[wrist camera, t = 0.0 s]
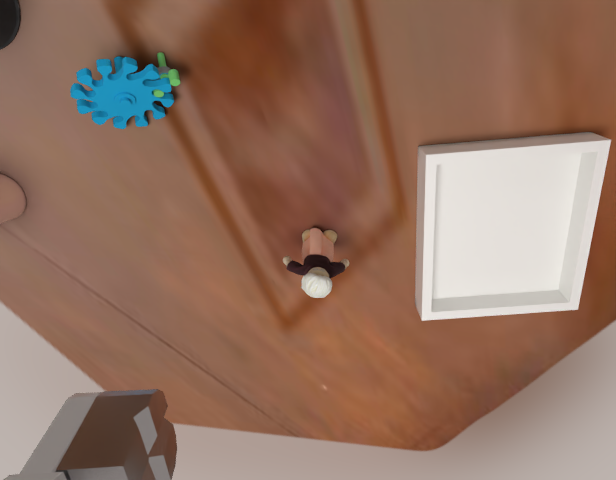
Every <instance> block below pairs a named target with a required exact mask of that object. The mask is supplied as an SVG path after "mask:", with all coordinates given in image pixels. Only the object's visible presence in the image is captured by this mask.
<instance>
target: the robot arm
mask: <svg viewBox="0 0 616 480" xmlns="http://www.w3.org/2000/svg"><path fill="white" fill-rule="evenodd" d="M167 407H168V405H167V402H166V399H165V396H164V393H163V391H160V390H158V389H153V390H130V391H106V392H100V393H76V394H74V395H72V396H71V397H69V398H68V399H67V400H66V401H65V403H64V405H63V406H62V408H61V409H60V411H59V413H58V414H57V416H56V417H55V419H54V420H53V422H52V424H51V425H50V427H49V428H48V430H47V431H46V433H45V435H44V436H43V438H42V439H41V441H40V442H39V444H38V445H37V447H36V449H35V450H34V452H33V453H32V455H31V457H30V458H29V460H28V461H27V463H26V464H25V466H24V468H23V469H22V471H21V472H20V474H16V475H9V476H8V477H7V478H5V479H4V480H172V476H173V472H174V468H175V463H176V453H177V443H176V434H175V431H174V427H173V424H172V423H170V422H169V421H168V420H166V419H165V418H164V415H165V412H166V409H167Z"/></svg>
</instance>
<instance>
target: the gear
mask: <svg viewBox="0 0 616 480" xmlns="http://www.w3.org/2000/svg"><path fill="white" fill-rule="evenodd" d="M157 57H158V62H159V67H158V68H156V67H155V66H154V65H153V64H149V65H147V66H146V67H145V69H144V70H142V71H141V72H138V73H134V74H129V73H133V72H135V71H136V70H137V69H138V67H137V61H136V60H134V59H132V58H129V57H124V58H122V57H119V56H118V57H115V58H114V62H115V70H116V74H109V73H111V71H112V65H111V61H110V60H109V59H99V60H97V61H96V63H97V70H98V71H99V72H100V73H101V74H102V76H103V78H102V79H101V80H93V79H92V74H91V71H90V70H89V69H87V68H84V69H81V70H79V71H78V72H77V80H78V81H79V82H80V83H82V84H85V85H88V86H89V87H91V88H92V89H93V91H87V90H85V89H84V87H83V86H82V85H80V84H77V83H74V84H73V85H72V87H71V90H70V91H71V97H72V98H75V99H79V100H77V108H78V111H79V113H81V114H86V113H88V112H91V111H94V112H92V120H93V121H94V122H95V123H97V124H99V125H101V124H104V123H105V121H106V120H108V119H109V118H112V117H115V116H117V117H115V118H114V119H113V124H114V127H116V128H120V129H125V128H126V122H127V120H128V119H129V118H130V117H131V116H134V115H136V117H135V123H136V126H138V127H142V126H147V125H148V122H147V117H146V116H145V115H144V112H145V111H146V110H152V112H153V117H154V118H155V119H160V118H162V117H164V116H165V111H164V108H163V107H161V106H158V105H156V104H155V103H154V102H153V101H161V102H162V104H163V106H165V107H170V106H171V105H172V104H173V102H174V98H173V95H172V94H170V93H168V92H171V85H172V86H178V85H179V84H180V78H179V73H178V71H177V70H175V69H170V68H169V67H166V61H165V56H164V54H163V53H161V52H160V53H158V54H157ZM164 92H165V93H164ZM84 99H87V100H91V101H93V102H89V101H86V100H84Z"/></svg>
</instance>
